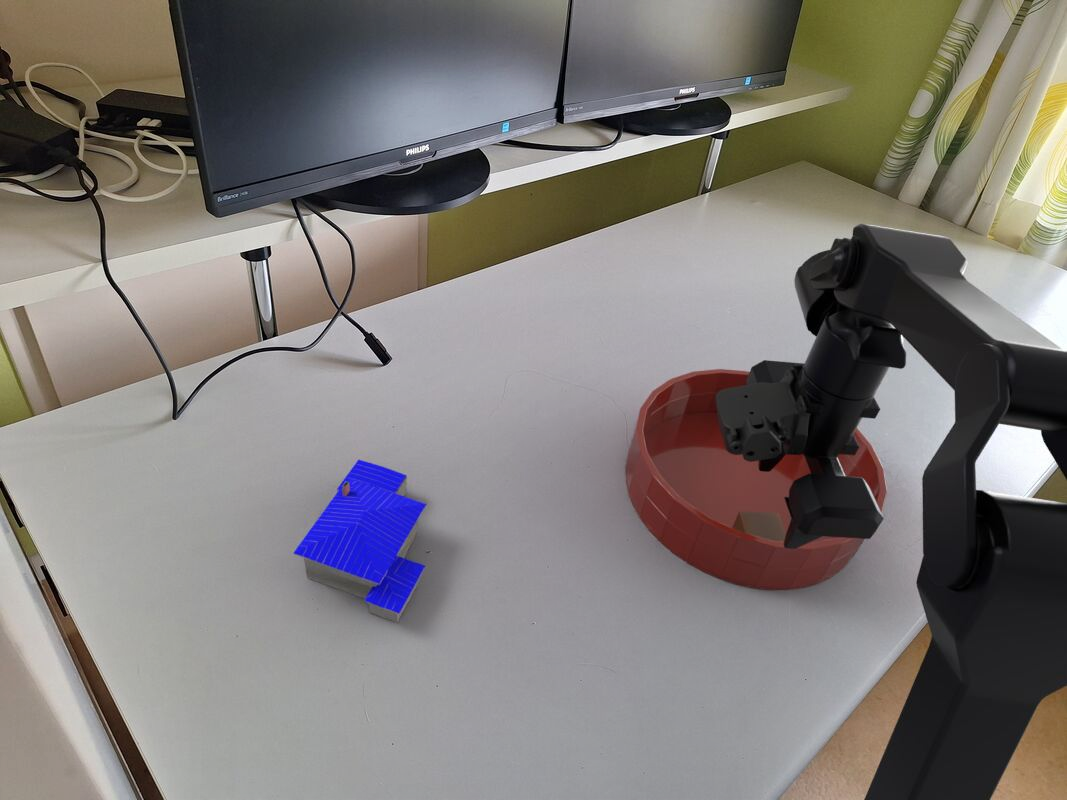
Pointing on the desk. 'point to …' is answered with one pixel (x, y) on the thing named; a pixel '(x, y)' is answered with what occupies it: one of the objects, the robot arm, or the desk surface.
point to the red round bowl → (727, 490)
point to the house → (367, 540)
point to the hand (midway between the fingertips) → (776, 506)
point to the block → (760, 525)
